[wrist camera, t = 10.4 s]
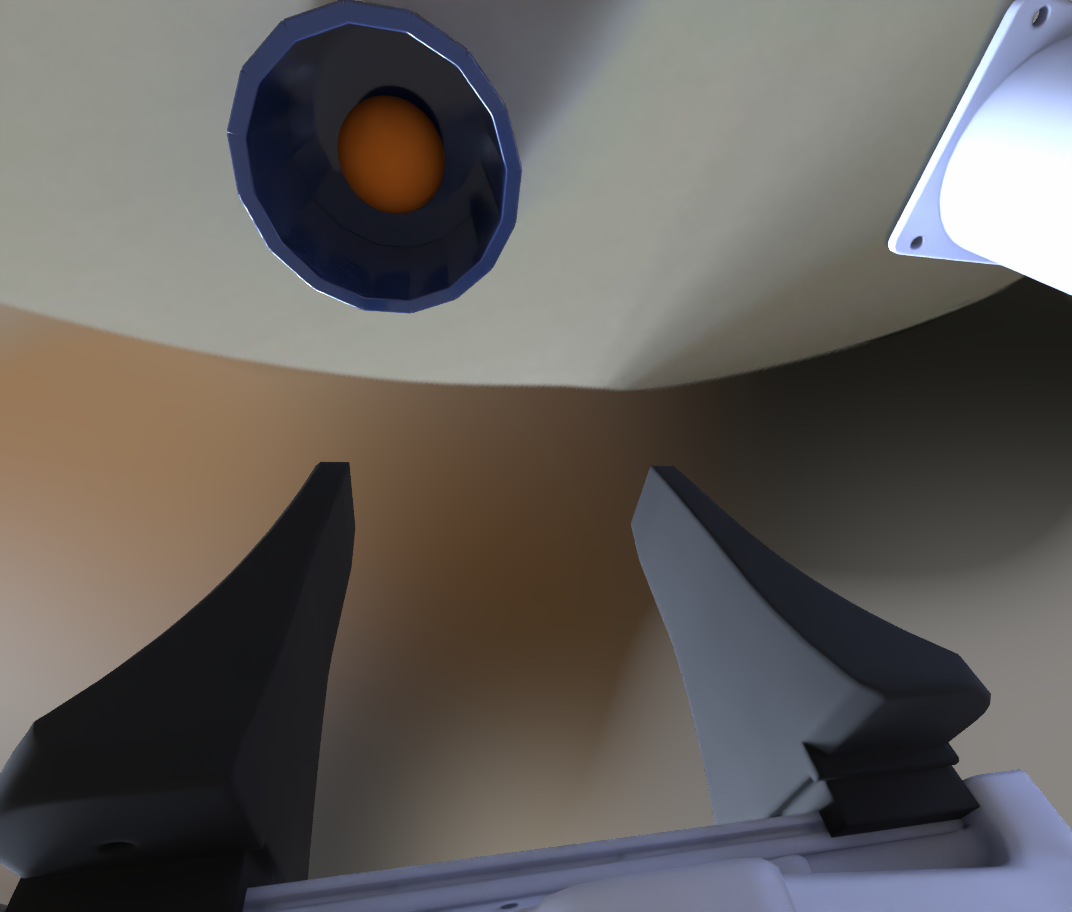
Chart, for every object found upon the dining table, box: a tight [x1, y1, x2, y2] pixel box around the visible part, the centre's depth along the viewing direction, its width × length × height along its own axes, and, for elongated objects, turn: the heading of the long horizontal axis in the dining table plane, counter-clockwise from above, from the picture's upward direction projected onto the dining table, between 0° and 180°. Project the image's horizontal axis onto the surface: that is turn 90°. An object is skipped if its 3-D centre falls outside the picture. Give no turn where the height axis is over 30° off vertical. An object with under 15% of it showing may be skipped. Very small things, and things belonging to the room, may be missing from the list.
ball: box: [338, 95, 445, 214], centre depth 16 cm, size 3×3×3 cm
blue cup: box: [227, 0, 522, 313], centre depth 15 cm, size 7×7×5 cm
